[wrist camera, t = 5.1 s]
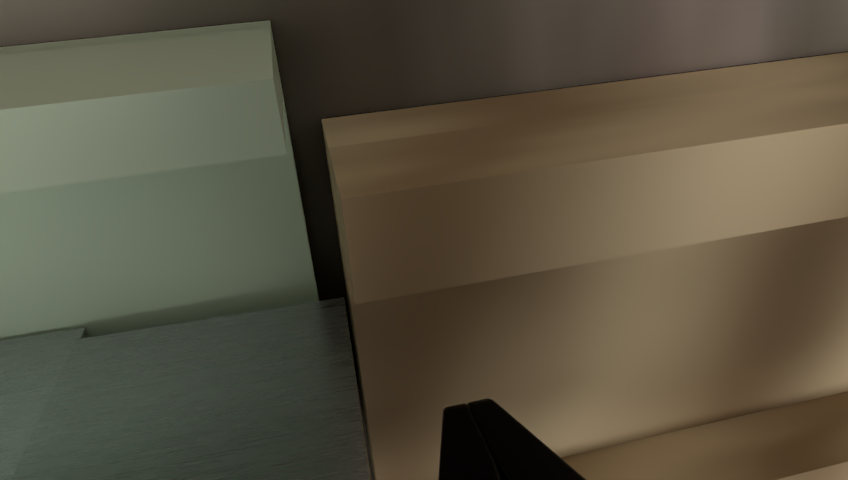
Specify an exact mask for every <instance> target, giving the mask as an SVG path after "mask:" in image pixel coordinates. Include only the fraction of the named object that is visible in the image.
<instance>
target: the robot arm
mask: <svg viewBox="0 0 848 480" xmlns="http://www.w3.org/2000/svg"><path fill="white" fill-rule="evenodd" d="M438 480H586V479H585V478H584V477H583V476H582V475H580V474H579V473H578V472H577V471H576V470H575V469H573V468H572V467H571V466H570V465H569V464H568V463H566V462H565V461H564V460H563V459H562V458H561V457H559V456H558V455H557V454H556V453H555V452H553V451H552V450H551V449H550V448H549V447H548V446H546V445H545V444H544V443H543V442H542V441H541V440H539V439H538V438H537V437H536V436H535V435H534V434H532V433H531V432H530V431H529V430H528V429H527V428H525V427H524V426H523V425H522V424H521V423H520V422H518V421H517V420H516V419H515V418H514V417H513V416H511V415H510V414H509V413H508V412H507V411H506V410H504V409H503V408H502V407H501V406H500V405H499V404H497V403H496V402H495V401H494V400H492V399H489V398H486V399H481V400H477V401H472V402H469V403H468V404H466V403H462V404H458V405H453V406H448V407H445V408H444V410H443V417H442V432H441V447H440V462H439V477H438Z"/></svg>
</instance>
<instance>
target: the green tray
mask: <svg viewBox="0 0 848 480" xmlns="http://www.w3.org/2000/svg"><path fill="white" fill-rule="evenodd" d="M317 301H319V296H318V290H317V284H316V279H315V273H314V267H313V262H312V256H311V250H310V244H309V239H308V233H307V227H306V222H305V216H304V210H303V205H302V199H301V193H300V188H299V182H298V176H297V171H296V165H295V159H294V154H293V148H292V142H291V137H290V131H289V125H288V120H287V114H286V108H285V103H284V97H283V91H282V85H281V80H280V74H279V68H278V63H277V57H276V51H275V46H274V40H273V34H272V29H271V23H270V20H268V21H258V22H248V23H238V24H228V25H218V26H208V27H198V28H188V29H178V30H168V31H158V32H148V33H138V34H127V35H117V36H107V37H97V38H87V39H77V40H67V41H57V42H47V43H37V44H27V45H17V46H7V47H0V341H1V340H7V339H14V338H20V337H26V336H33V335H39V334H46V333H52V332H59V331H65V330H72V329H78V328H85V327H86V330H87V332H88V334H89V337H94V336H100V335H107V334H113V333H120V332H126V331H132V330H139V329H145V328H151V327H158V326H164V325H170V324H177V323H183V322H190V321H196V320H202V319H209V318H215V317H221V316H228V315H234V314H241V313H247V312H253V311H260V310H266V309H272V308H279V307H285V306H291V305H298V304H304V303H311V302H317Z"/></svg>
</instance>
